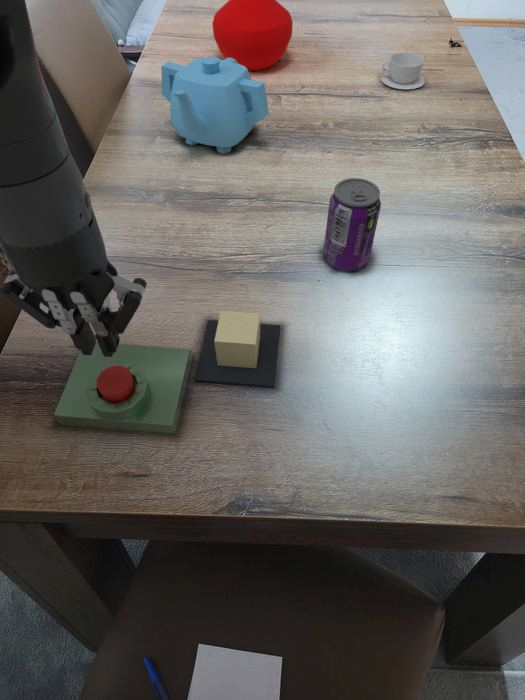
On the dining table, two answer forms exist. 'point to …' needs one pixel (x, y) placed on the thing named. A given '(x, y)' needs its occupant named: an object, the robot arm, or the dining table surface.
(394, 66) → the teacup
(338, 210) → the beverage can
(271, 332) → the mat
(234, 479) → the dining table surface
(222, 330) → the block
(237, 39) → the vase
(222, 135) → the teapot
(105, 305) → the robot arm
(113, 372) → the switch
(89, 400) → the switch base
